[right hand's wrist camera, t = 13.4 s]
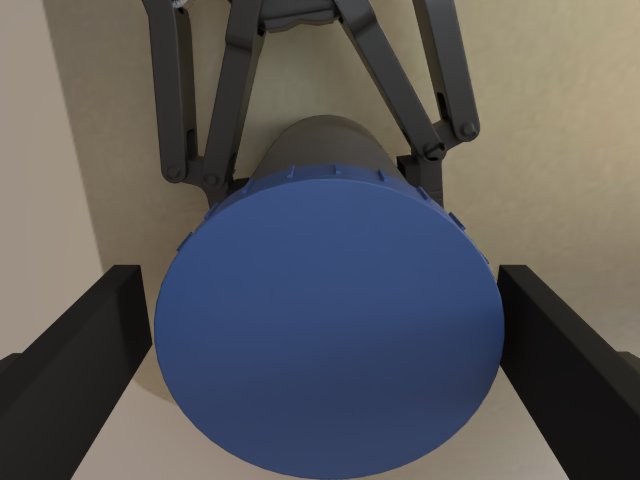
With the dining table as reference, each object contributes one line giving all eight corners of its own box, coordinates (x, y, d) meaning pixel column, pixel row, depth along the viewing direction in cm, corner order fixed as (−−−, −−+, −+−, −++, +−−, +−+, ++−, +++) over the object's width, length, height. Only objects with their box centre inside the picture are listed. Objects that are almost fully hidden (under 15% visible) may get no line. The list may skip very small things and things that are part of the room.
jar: (264, 112, 28) (162, 182, 11) (394, 117, 28) (510, 198, 11) (264, 234, 31) (184, 452, 13) (382, 239, 31) (458, 463, 13)
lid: (158, 152, 12) (132, 165, 10) (513, 168, 12) (543, 184, 10) (182, 431, 15) (164, 475, 13) (459, 442, 15) (476, 487, 13)
